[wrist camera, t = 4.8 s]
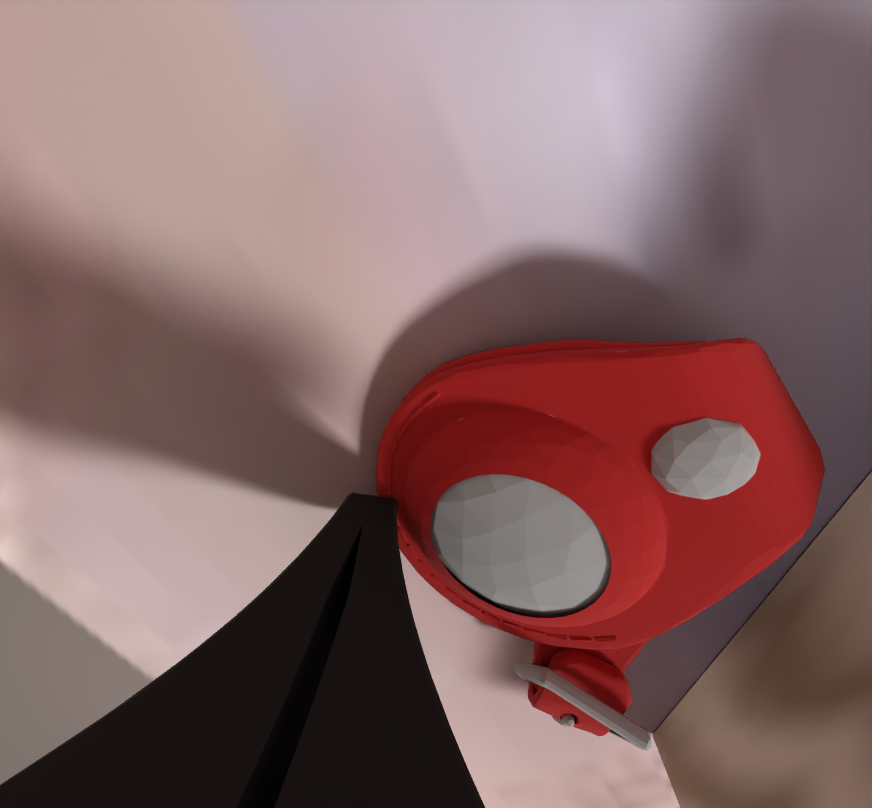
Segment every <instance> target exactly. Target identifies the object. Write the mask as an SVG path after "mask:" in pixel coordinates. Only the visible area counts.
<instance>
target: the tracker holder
mask: <svg viewBox="0 0 872 808" xmlns="http://www.w3.org/2000/svg"><path fill="white" fill-rule="evenodd" d="M824 471H825V468H824V464H823V459H822V455H821V451H820V448H819V446H818V444H817V442H816V441H815V439H814V437H813V435H812V434H811V432H810V430H809V428H808V427H807V425H806V423H805V421H804V420H803V418H802V416H801V414H800V412H799V411H798V409H797V407H796V405H795V404H794V402H793V400H792V398H791V397H790V395H789V393H788V391H787V390H786V388H785V386H784V384H783V383H782V381H781V379H780V377H779V376H778V374H777V372H776V370H775V369H774V367H773V365H772V363H771V362H770V360H769V358H768V356H767V355H766V353H765V351H764V350H763V349H762V348H761V347H760V345H758V344H757V343H756V342H755V341H753V340H749V339H743V338H735V339H726V340H718V341H710V342H707V341H688V342H658V343H639V342H618V341H603V340H594V339H579V340H558V341H548V342H540V343H532V344H525V345H517V346H509V347H502V348H496V349H492V350H487V351H483V352H479V353H474V354H470V355H467V356H464V357H461V358H459V359H456V360H453V361H450V362H448V363H445V364H443V365H442V366H440V367H438V368H437V369H435V370H433V371H432V372H430V373H429V374H428V375H427V376H425V377H424V378H423V379H422V380H421V381H420V382H419V383H418V384H417V385H415V386H414V387H413V389H412V390H411V391H410V392H409V393H408V395H407V396H406V397H405V398H404V399H403V401H402V403H401V404H400V406H399V408H398V409H397V410H396V411H395V412H394V414H393V415H392V416H391V418H390V420H389V422H388V424H387V427H386V429H385V431H384V433H383V436H382V439H381V441H380V444H379V448H378V454H377V464H376V487H377V493H378V496H379V497H387V498H394V499H396V500H397V501H398V511H397V532H398V543H399V549H400V550H401V552H402V553H403V554H404V555H405V557H406V558H407V559H408V561H409V562H410V563H411V564H412V566H413V567H414V568H415V570H416V571H417V572H418V573H419V574H420V575H421V576H422V577H423V578H424V579H425V580H426V581H427V582H428V583H429V584H430V585H431V586H432V587H433V588H434V589H436V590H437V591H438V592H439V593H440V594H441V595H443V596H444V597H445V598H447V599H448V600H449V601H450V602H452V603H453V604H455V605H456V606H458V607H459V608H461V609H463V610H464V611H466V612H467V613H469V614H471V615H472V616H474V617H476V618H477V619H479V620H481V621H482V622H484V623H487V624H489V625H491V626H493V627H496V628H498V629H500V630H503V631H506V632H508V633H511V634H513V635H516V636H519V637H521V638H524V639H527V640H531V641H535V646H534V660H533V664H529V663H525V662H520V661H518V662H517V663H516V665H515V673H516V674H517V675H518V676H520V677H521V678H523V679H524V680H526V681H527V682H529V689H528V699H529V701H530V702H531V704H532V706H533V707H534V708H537V709H539V710H541V711H543V712H545V713H547V714H550V715H552V717H553V719H554V720H555V721H557V722H558V723H560V724H561V725H563V726H573V727H576V728H579V729H582V730H585V731H588V732H591V733H593V734H595V735H597V736H603V735H605V734H606V733H608V732H610V733H612V734H613V735H615V736H617V737H619V738H621V739H623V740H625V741H627V742H629V743H631V744H633V745H635V746H637V747H639V748H641V749H643V750H649V748H650V747H651V734H650V733H649V732H648V731H647V730H646V729H645V728H643V727H641V726H640V725H638V724H637V723H635V722H633V721H632V720H630V719H629V718H627V717H626V716H624V715H623V714H624V713H625V711H626V710H627V709H628V708H629V706H630V704H631V697H632V695H631V691H630V687H629V684H628V681H627V679H626V677H625V676H624V674H623V672H624V671H625V669H626V668H627V666H628V665H629V664H630V663H631V661H632V660H633V659H634V658H635V656H636V655H637V654H638V653H639V651H640V650H641V649H642V648H643V646H644V645H645V644H646V643H647V642H648V641H649V640H650V639H651V638H653V637H656V636H658V635H660V634H662V633H664V632H666V631H668V630H670V629H672V628H674V627H676V626H678V625H680V624H682V623H684V622H686V621H688V620H689V619H691V618H692V617H694V616H696V615H697V614H699V613H700V612H702V611H703V610H705V609H707V608H708V607H710V606H711V605H713V604H715V603H716V602H718V601H719V600H721V599H722V598H724V597H726V596H727V595H729V594H730V593H731V592H733V591H734V590H736V589H737V588H738V587H740V586H741V585H743V584H744V583H746V582H747V581H748V580H750V579H751V578H753V577H754V576H756V575H757V574H758V573H760V572H761V571H763V570H764V569H765V568H767V567H768V566H770V565H771V564H772V563H774V562H775V561H776V560H777V559H778V558H779V557H780V556H782V555H783V554H784V553H785V552H786V551H787V550H789V549H790V548H791V547H792V546H793V545H794V544H796V543H797V542H798V541H799V540H800V539H801V538H802V536H803V535H804V533H805V532H806V531H807V529H808V528H809V527H810V525H811V523H812V520H813V518H814V514H815V509H816V505H817V501H818V497H819V492H820V488H821V484H822V480H823V476H824Z"/></svg>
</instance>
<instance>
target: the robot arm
mask: <svg viewBox="0 0 872 808" xmlns="http://www.w3.org/2000/svg"><path fill="white" fill-rule="evenodd" d="M397 511H398V501H397V500H396V499H394V498H387V497H379V496H372V495H365V494H358V493H351V494H350V495H348V496H347V498H346V499H345V501H344V502H343V503H342V505H341V506H340V507H339V509H338V510H337V511H336V513H335V514H334V515H333V517H332V518H331V519H330V520H329V521H328V523H327V524H326V525H325V526H324V528H323V529H322V530H321V531H320V532H319V533H318V534H317V536H316V537H315V538H314V539H313V540H312V541H311V542H310V544H309V545H308V546H307V547H306V548H305V549H304V550H303V551H302V552H301V554H300V555H299V556H298V557H297V558H296V559H295V560H294V561H293V562H292V563H291V564H290V565H289V566H288V567H287V568H286V569H285V570H284V571H283V572H282V573H281V574H280V575H279V576H278V577H277V578H276V579H275V580H274V581H273V582H272V583H271V584H270V585H269V586H268V587H267V588H266V589H265V590H264V591H263V592H262V593H260V594H259V595H258V596H257V597H256V598H255V599H254V600H253V601H252V602H251V603H250V604H248V605H247V606H246V607H245V608H244V609H243V610H242V611H241V612H239V613H238V614H237V615H236V616H235V617H234V618H233V619H231V620H230V621H229V622H228V623H227V624H225V625H224V626H223V627H222V628H221V629H219V630H218V631H217V632H216V633H214V634H213V635H212V636H211V637H210V638H208V639H207V640H206V641H205V642H204V643H202V644H201V645H200V646H199V647H197V648H196V649H195V650H194V651H192V652H191V653H190V654H188V655H187V656H186V657H185V658H183V659H182V660H181V661H179V662H178V663H177V664H176V665H174V666H173V667H171V668H170V669H169V670H167V671H166V672H165V673H163V674H162V675H161V676H159V677H158V678H156V679H155V680H154V681H152V682H151V683H150V684H148V685H147V686H145V687H144V688H143V689H141V690H140V691H139V692H137V693H136V694H135V695H133V696H132V697H131V698H129V699H128V700H126V701H125V702H124V703H122V704H121V705H119V706H118V707H117V708H115V709H114V710H112V711H111V712H109V713H108V714H106V715H105V716H104V717H102V718H101V719H99V720H98V721H96V722H95V723H93V724H92V725H90V726H89V727H87V728H86V729H84V730H83V731H81V732H80V733H78V734H77V735H75V736H74V737H72V738H71V739H69V740H68V741H66V742H65V743H63V744H62V745H60V746H58V747H57V748H56V749H54V750H52V751H51V752H49V753H48V754H47V755H45V756H43V757H42V758H40V759H39V760H37V761H36V762H34V763H33V764H31V765H30V766H28V767H27V768H25V769H24V770H22V771H21V772H19V773H17V774H16V775H14V776H13V777H12V778H10V779H8V780H7V781H5V782H4V783H2V784H1V785H0V808H485V806H484V804H483V802H482V800H481V797H480V795H479V793H478V791H477V788H476V786H475V784H474V782H473V779H472V777H471V775H470V773H469V770H468V768H467V766H466V763H465V761H464V759H463V756H462V754H461V751H460V749H459V747H458V744H457V742H456V739H455V737H454V735H453V732H452V730H451V727H450V725H449V722H448V719H447V717H446V714H445V711H444V709H443V706H442V703H441V701H440V698H439V695H438V693H437V690H436V687H435V685H434V682H433V679H432V677H431V674H430V671H429V668H428V665H427V662H426V659H425V655H424V652H423V649H422V646H421V643H420V639H419V636H418V633H417V629H416V626H415V622H414V618H413V615H412V611H411V607H410V603H409V598H408V594H407V590H406V585H405V580H404V575H403V570H402V564H401V557H400V551H399V543H398V532H397Z"/></svg>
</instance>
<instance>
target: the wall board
mask: <svg viewBox="0 0 872 808" xmlns="http://www.w3.org/2000/svg"><path fill="white" fill-rule="evenodd" d="M653 738H654V740H655V743H656V746H657V748H658V751H659V753H660V756H661V759H662V761H663V764H664V766H665V769H666V771H667V774H668V777H669V779H670V782H671V784H672V787H673V790H674V792H675V795H676V797H677V800H678V802H679V805H680V808H872V472H871V473H870V474H869V475H868V476H867V478H866V479H865V480H864V481H863V482H862V484H861V485H860V486H859V487H858V488H857V490H856V491H855V492H854V493H853V494H852V496H851V497H850V498H849V499H848V500H847V502H846V503H845V504H844V505H843V506H842V508H841V509H840V510H839V511H838V513H837V514H836V515H835V516H834V517H833V519H832V520H831V521H830V522H829V523H828V525H827V526H826V527H825V528H824V529H823V531H822V532H821V533H820V534H819V535H818V537H817V538H816V539H815V540H814V541H813V543H812V544H811V545H810V546H809V547H808V549H807V550H806V551H805V552H804V553H803V555H802V556H801V557H800V558H799V559H798V561H797V562H796V563H795V564H794V565H793V567H792V568H791V569H790V570H789V571H788V573H787V574H786V575H785V576H784V577H783V579H782V580H781V581H780V582H779V583H778V585H777V586H776V587H775V588H774V589H773V591H772V592H771V593H770V594H769V595H768V597H767V598H766V599H765V600H764V601H763V603H762V604H761V605H760V606H759V607H758V609H757V610H756V611H755V612H754V613H753V615H752V616H751V617H750V618H749V619H748V621H747V622H746V623H745V624H744V625H743V627H742V628H741V629H740V630H739V631H738V633H737V634H736V635H735V636H734V637H733V639H732V640H731V641H730V642H729V643H728V645H727V646H726V647H725V648H724V650H723V651H722V652H721V653H720V654H719V656H718V657H717V658H716V659H715V660H714V662H713V663H712V664H711V665H710V666H709V668H708V669H707V670H706V671H705V672H704V674H703V675H702V676H701V677H700V678H699V680H698V681H697V682H696V683H695V684H694V686H693V687H692V688H691V689H690V690H689V692H688V693H687V694H686V695H685V696H684V698H683V699H682V700H681V701H680V702H679V704H678V705H677V706H676V707H675V708H674V710H673V711H672V712H671V713H670V714H669V716H668V717H667V718H666V719H665V720H664V722H663V723H662V724H661V725H660V726H659V728H658V729H657V730H656V731H655V732H654V734H653Z"/></svg>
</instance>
